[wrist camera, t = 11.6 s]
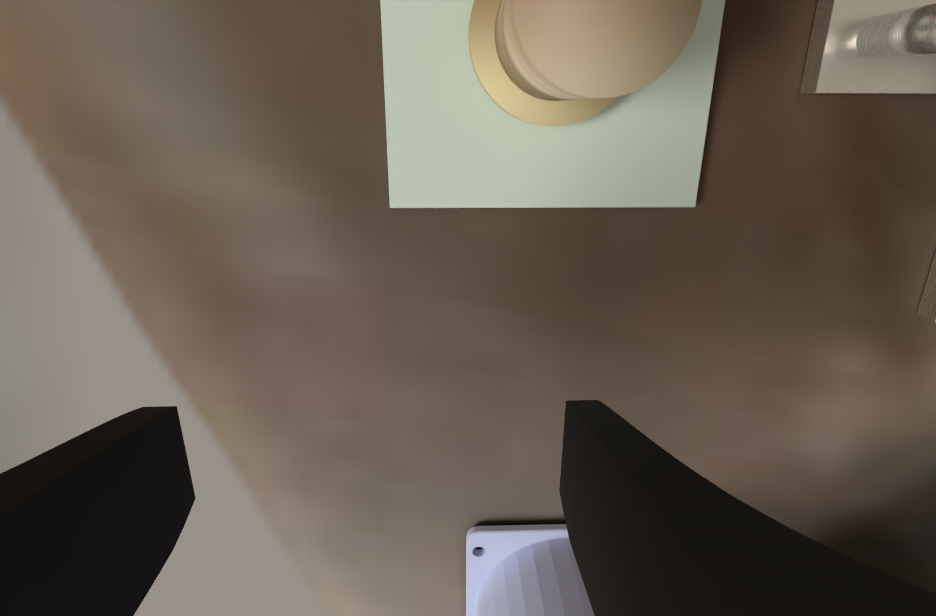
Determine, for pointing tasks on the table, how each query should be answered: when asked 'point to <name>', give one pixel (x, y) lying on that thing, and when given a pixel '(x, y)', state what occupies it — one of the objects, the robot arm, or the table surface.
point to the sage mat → (534, 126)
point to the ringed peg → (574, 52)
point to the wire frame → (875, 61)
